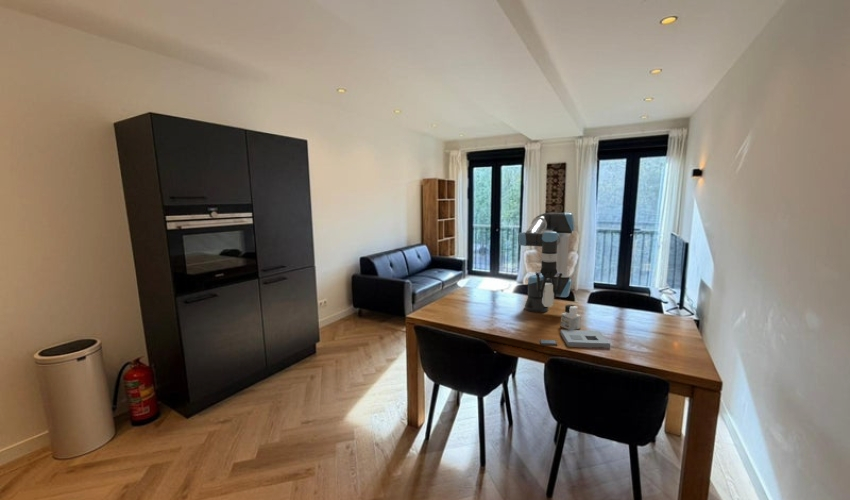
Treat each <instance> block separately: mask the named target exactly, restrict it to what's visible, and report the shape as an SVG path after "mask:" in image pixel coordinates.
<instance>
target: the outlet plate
mask: <svg viewBox="0 0 850 500" xmlns="http://www.w3.org/2000/svg"><path fill="white" fill-rule="evenodd" d="M560 335H561V337H562V339H563V341H564V343H565V345H566V346H567V347H570V348H571V347H573V348H592V347H604V348H603V349H611V342H610V341H609V340H608V339H607V338H606V336H605V335H603V333H602V332H601V331H600V330H587V329H586V330H582V329H581V330H580V329H575V330H568V329H560Z"/></svg>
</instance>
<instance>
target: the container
mask: <svg viewBox="0 0 850 500" xmlns="http://www.w3.org/2000/svg"><path fill="white" fill-rule="evenodd" d="M578 307H579V306H577V305H575V304H567V305H565V307H564V312H562V313H561V314H560V326H561V327H562V328H565V330H580V329H581V328H582V315H580V314H578V312H579V311H578Z"/></svg>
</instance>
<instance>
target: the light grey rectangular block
mask: <svg viewBox="0 0 850 500" xmlns="http://www.w3.org/2000/svg"><path fill="white" fill-rule="evenodd" d="M544 292H545V300H544V304H543V305H544V307H548V308H552V307H553V305H554V304H553V284H552V283H545V287H544Z"/></svg>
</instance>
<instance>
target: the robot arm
mask: <svg viewBox="0 0 850 500" xmlns="http://www.w3.org/2000/svg"><path fill="white" fill-rule="evenodd" d="M530 224H531V225H530V226H529V227H528V228H527V230H526V231H525V232H523V231H522V232H518V236H517V243H518V245H519V246H522V247H523V246H524V247H541V260H542V261H541V267H540V268H541V269H540V271H535V274H532V275H530V276H529V277H528V280H527V297H526V301H525V303H524V309H525V310H526V311H528V312H530V313H546V312H548V311H549V307H544V305H543V304H544V300H545V292H544V287H545V283H552V284H553V304H552V305H555V299H556V298H557V297H558V298H567V297H569V296H570V292H571V288H572V279H571V278H570V275H569V274H568V264H569V262H568V261H569V243H570V236H571V235H573V234H572V233H573V232H574V231H575V218H574V215H573V213H571V212H544V213H542V214H539V215H537V216H536V217H534V218H533V220H532V221H531V223H530Z"/></svg>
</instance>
